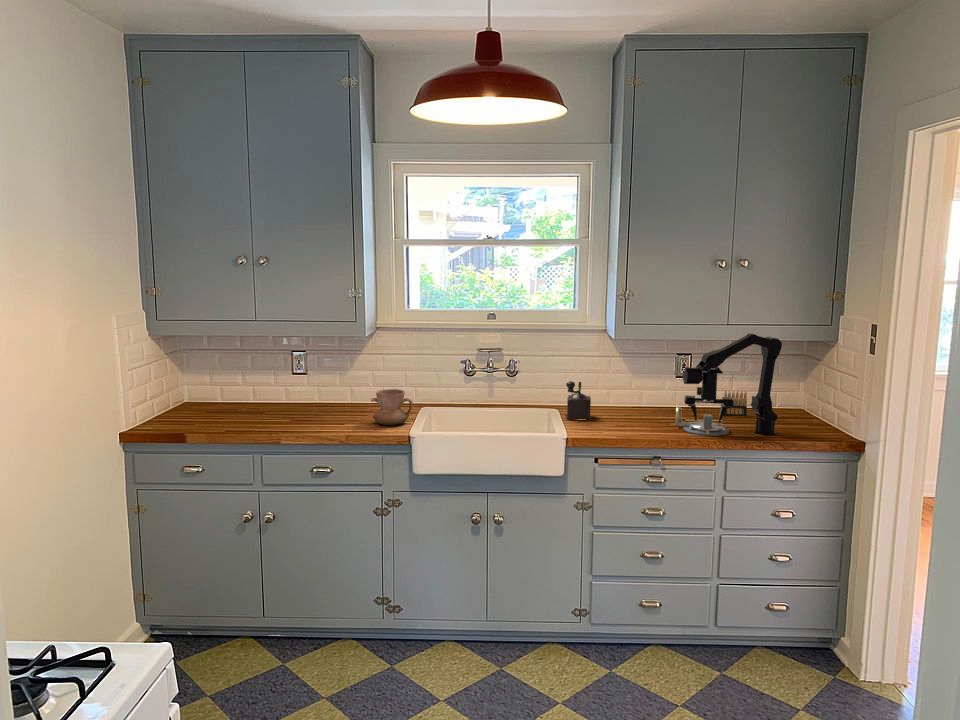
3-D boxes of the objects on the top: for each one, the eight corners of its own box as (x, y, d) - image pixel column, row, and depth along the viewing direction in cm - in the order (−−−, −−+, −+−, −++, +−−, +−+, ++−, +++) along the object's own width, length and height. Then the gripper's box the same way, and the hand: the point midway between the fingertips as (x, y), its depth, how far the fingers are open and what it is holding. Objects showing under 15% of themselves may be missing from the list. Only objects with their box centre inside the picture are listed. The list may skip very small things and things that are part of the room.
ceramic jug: (369, 427, 292) (368, 394, 290) (372, 420, 307) (372, 388, 305) (412, 427, 293) (412, 394, 291) (413, 419, 308) (413, 388, 306)
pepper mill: (565, 414, 319) (566, 376, 316) (590, 415, 317) (591, 376, 315) (564, 422, 303) (565, 382, 301) (590, 423, 302) (591, 382, 299)
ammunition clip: (722, 416, 317) (723, 390, 315) (721, 415, 319) (722, 389, 317) (746, 417, 316) (748, 391, 314) (745, 416, 318) (747, 390, 316)
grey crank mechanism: (728, 426, 292) (729, 409, 291) (722, 434, 279) (723, 416, 278) (679, 420, 302) (680, 404, 301) (671, 428, 289) (671, 411, 288)
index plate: (738, 432, 287) (738, 430, 286) (708, 438, 277) (708, 435, 277) (703, 424, 302) (703, 421, 302) (674, 429, 292) (674, 426, 292)
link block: (710, 426, 287) (711, 414, 287) (711, 429, 282) (712, 417, 281) (703, 425, 288) (703, 413, 287) (703, 428, 282) (704, 416, 282)
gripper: (731, 381, 288) (729, 418, 290) (684, 379, 292) (682, 416, 294) (734, 386, 277) (732, 424, 279) (686, 384, 281) (684, 421, 284)
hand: (707, 421), depth 284 cm, fingers open, 9 cm apart
